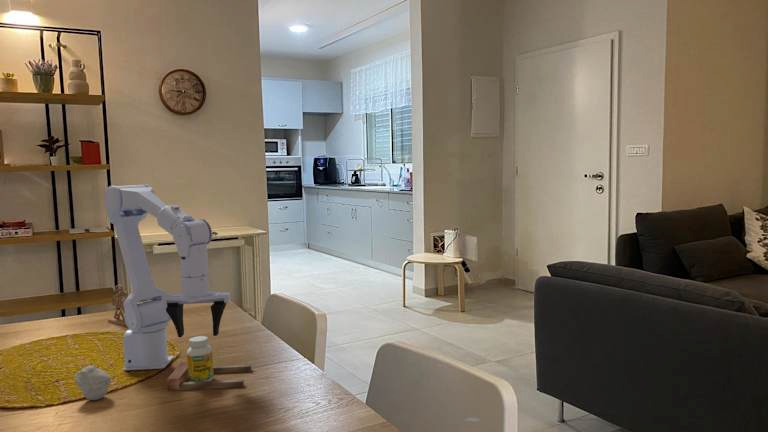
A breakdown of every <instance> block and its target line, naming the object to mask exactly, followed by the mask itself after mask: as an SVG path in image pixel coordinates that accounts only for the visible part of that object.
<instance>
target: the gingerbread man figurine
mask: <svg viewBox="0 0 768 432" xmlns="http://www.w3.org/2000/svg"><path fill="white" fill-rule="evenodd" d="M114 287H115V288H114V292H115V294H114V295H113V296H112V298H111V304H112V306H116V308H115V311H114V316H113V317H111V318H108V319H107V322H108V323H110V324H114V325H117V326H123V327H127V325H126V323H125V318H124V314H125V311H124V305H123V303H124V302H125V300H126V299H127V297H128V296H129V295H128V292H127V291H124V288H123V286H122V284H116V285H115V286H114ZM123 297H124V298H125V299H124V300H123ZM115 298H117V299H115ZM119 309H120V310H119Z"/></svg>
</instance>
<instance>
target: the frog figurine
mask: <svg viewBox="0 0 768 432" xmlns="http://www.w3.org/2000/svg"><path fill="white" fill-rule="evenodd" d="M74 379H75V383H76V386H77V387H78V388H79V390H80V391H81V393H82V395H83V396H84V398H86V399H87V400H91V401H97V400H100V399H102V398H104V397H105V396H106V395H107V393H108V391H109V387H110V385H111V383H112V378H111V375H110V374H108V373H107V372H106V371H105V370H103V369H100V368H97V366H94V365H87V366H85V367H83V368H82V369H81V370H80V371H77V373H75V375H74Z"/></svg>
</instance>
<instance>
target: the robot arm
mask: <svg viewBox="0 0 768 432" xmlns="http://www.w3.org/2000/svg"><path fill="white" fill-rule="evenodd" d="M103 204H104V207H105V211H106V214H107V215H106V216H107V217H108V221H109V224H113V227H114V230H115V234H116V238H117V241H118V244H119V248H120V253H121V256H122V261H123V264H124V267H125V271H126V274H127V278H128V283H129V285H130V289H131V293H130V294H129V295H128V297H127V299H126V300H125V299H124V300H125V302H124V303H123V305H124V311H125V314H124V313H123V315H124V318H125V323H126V327H127V328H128V329H127V330H126V331H125V333H124V335H123V338H122V339H123V341H122V350H123V362H124V367H123V371H138V370H141V371H142V370H159V369H160V370H162V369H165V368H166V367H167V366H168V364H170V362H171V361H172V360H173V359H174V355H168V354H169V353H168V352H169V351H168V339H167V327H169V323H170V322H171V321H172V323H173V325H174V328H175V331H176V333H177V337H178V338H182V337H183V336H184V334H185V327H184V326H185V324H184V305H188V304H189V305H191V304H195V305H196V304H211V305H210V312H211V318H212V336H213V337H215V336H216V337H217V336H218V335H219V331H220V324H221V320H222V318H223V317H222V316H223V315H224V314H223V313H224V311H225V308H226V306H227V304H230V303H231V292H219V291H218V292H217V291H210V279H209V278H210V276H209V275H210V273H209V260H208V259H209V258H208V257H209V256H208V245H209V244H210V243H211V241H212V239H213V231H212V226H211V225H210V223H209V222H208V221H207V220H206V219H204V218H201V219H200V218H199V219H195V218H194V217H192V215H191V214H188V213H186V212H185V211H183V210H182V209H181V208H180V205H177V204H172V205H171V204H170V205H167V204H166V203H164V202H163V201H162V200H161V198H159V197H158V196H157V195H156V194H155V190H154V187H151V186H150V185H149V184H147V183H143V184H133V185H131V184H130V185H109V186H108V187H107V189H106V190H105V194H104V197H103ZM148 214H150V215H151V216H153V217H154V218H156V222H157V224H158V226H159V227H160V228H161V229H163V230H164V231H166V232H167V233H168V234H169V235H171V236H172V238H173V242H174V245H175V247H176V252H177V253H176V254H177V255H178V256H179V259H180V273H181V274H180V275H181V290H182V293H175V294H174V293H173V294H167V292H166V291H164V289H161V288H160V287H157V286H156V285H155V283H154V279H153V276H152V272H151V269H150V265H149V261H148V258H147V254H146V251H145V247H144V244H143V240H142V237H141V232H140V229H139V223H140V222H141V221H144V219H145V218H146V217H147V215H148Z"/></svg>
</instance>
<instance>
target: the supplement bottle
mask: <svg viewBox="0 0 768 432" xmlns="http://www.w3.org/2000/svg"><path fill="white" fill-rule="evenodd" d="M188 342H189V343H188V345H189V348H188V349H187V351H186V359H187V361H186V362H188V376H189V378H188V382H200V381H213V379H214V376H215V375H214V374H215V373H213V366H214V361H213V349H212V347H211V346H210V345H209V337H208V336H204V335H199V336H194V337H191V338H189V340H188Z"/></svg>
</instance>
